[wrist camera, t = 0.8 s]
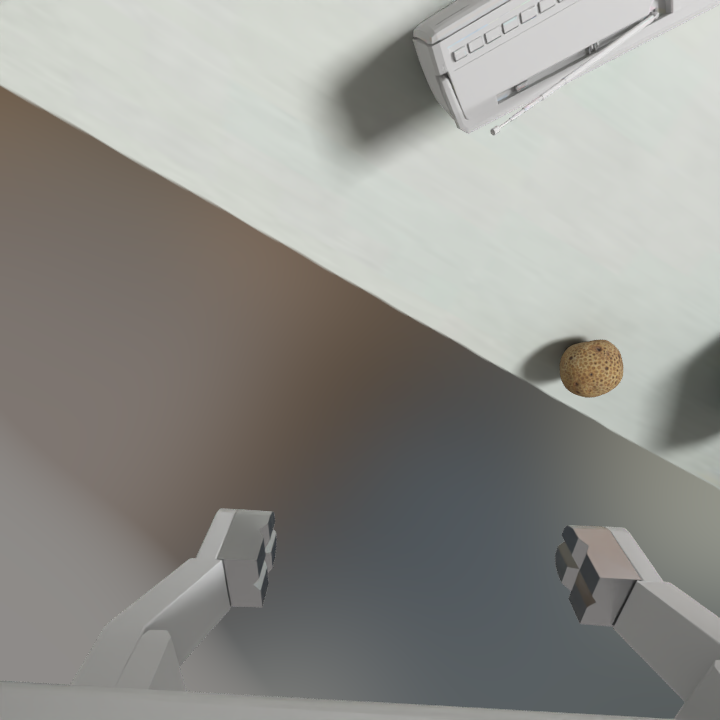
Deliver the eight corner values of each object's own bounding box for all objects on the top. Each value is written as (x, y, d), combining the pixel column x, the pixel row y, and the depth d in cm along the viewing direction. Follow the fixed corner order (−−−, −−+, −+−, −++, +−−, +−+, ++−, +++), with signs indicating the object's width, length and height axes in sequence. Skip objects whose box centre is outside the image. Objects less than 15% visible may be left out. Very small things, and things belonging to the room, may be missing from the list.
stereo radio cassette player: (636, -116, 34) (862, -216, 19) (639, 1, 39) (821, -5, 24) (406, 26, 40) (438, 36, 25) (434, 112, 45) (475, 164, 30)
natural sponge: (583, 315, 63) (614, 357, 56) (617, 340, 66) (650, 382, 59) (537, 352, 68) (560, 395, 60) (570, 373, 71) (596, 416, 64)
